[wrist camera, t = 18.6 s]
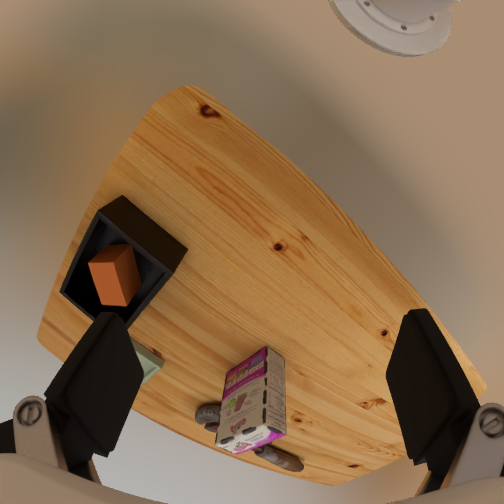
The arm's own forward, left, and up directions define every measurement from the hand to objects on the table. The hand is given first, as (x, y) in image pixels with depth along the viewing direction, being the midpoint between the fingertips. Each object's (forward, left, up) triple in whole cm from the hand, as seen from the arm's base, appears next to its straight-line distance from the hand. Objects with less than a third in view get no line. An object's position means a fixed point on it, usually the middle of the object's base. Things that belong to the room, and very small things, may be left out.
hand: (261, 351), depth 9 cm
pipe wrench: (+63, -3, -31) cm, 70 cm away
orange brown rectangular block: (+12, -23, -29) cm, 39 cm away
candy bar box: (+34, -4, -31) cm, 46 cm away
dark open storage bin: (+12, -23, -30) cm, 40 cm away
